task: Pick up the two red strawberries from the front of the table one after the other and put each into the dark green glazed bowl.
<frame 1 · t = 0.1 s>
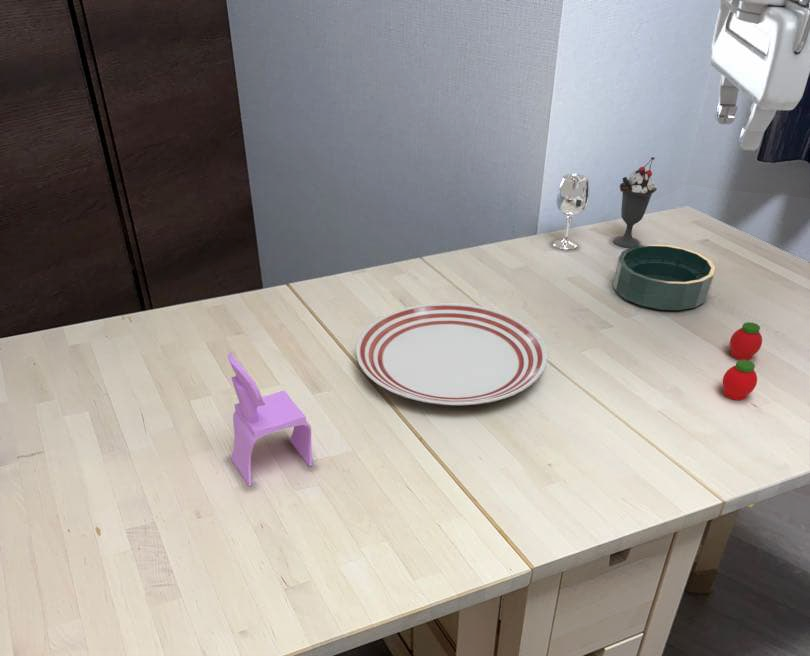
hand: (734, 134, 81), 33 cm above the table, tool pointing down, fingers open, 8 cm apart
sundae: (626, 243, 143), on the table
wineglass: (564, 245, 142), on the table
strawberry: (734, 394, 104), on the table
bowl: (659, 291, 128), on the table
toy chair: (273, 463, 92), on the table
dinner plate: (450, 367, 109), on the table
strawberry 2: (741, 355, 112), on the table
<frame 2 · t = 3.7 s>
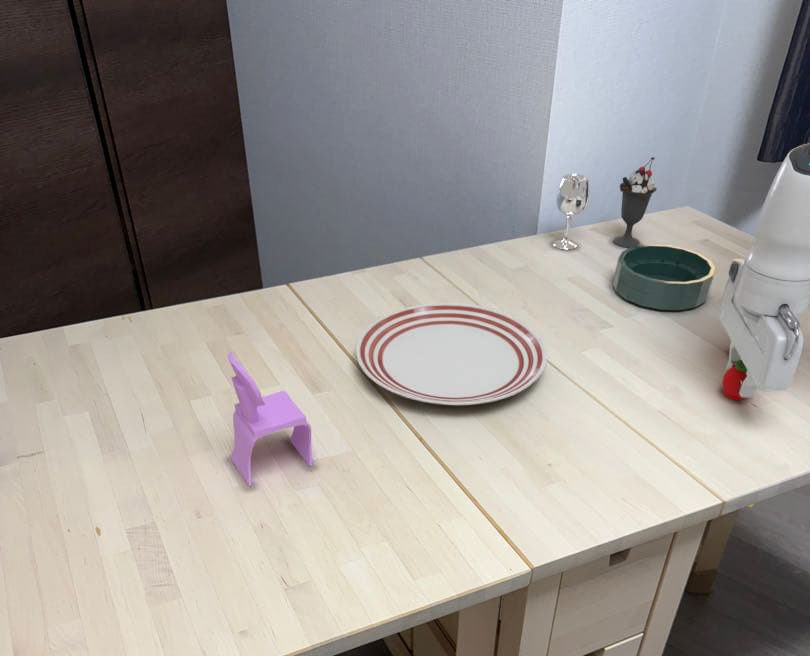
hand: (738, 383, 103), 2 cm above the table, tool pointing down, fingers closed on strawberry, 4 cm apart
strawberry: (734, 394, 104), on the table, touching gripper
everything else where it was.
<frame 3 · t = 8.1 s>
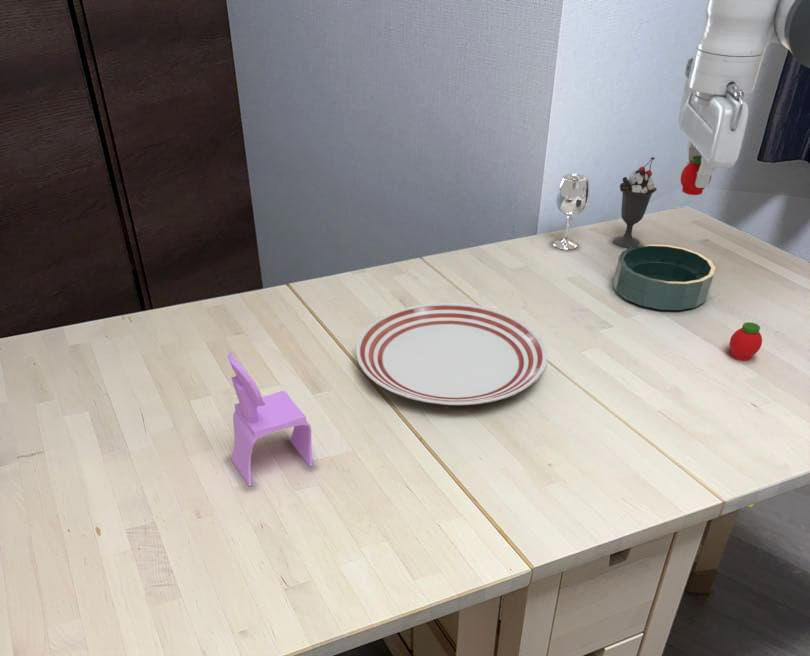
hand: (695, 179, 113), 19 cm above the table, tool pointing down, fingers closed on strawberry, 4 cm apart
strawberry: (691, 191, 114), point 17 cm above the table, touching gripper
everything else where it was.
when the fingers open (3 cm above the table, at t = 12.4 s): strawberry stays where it is, resting on bowl.
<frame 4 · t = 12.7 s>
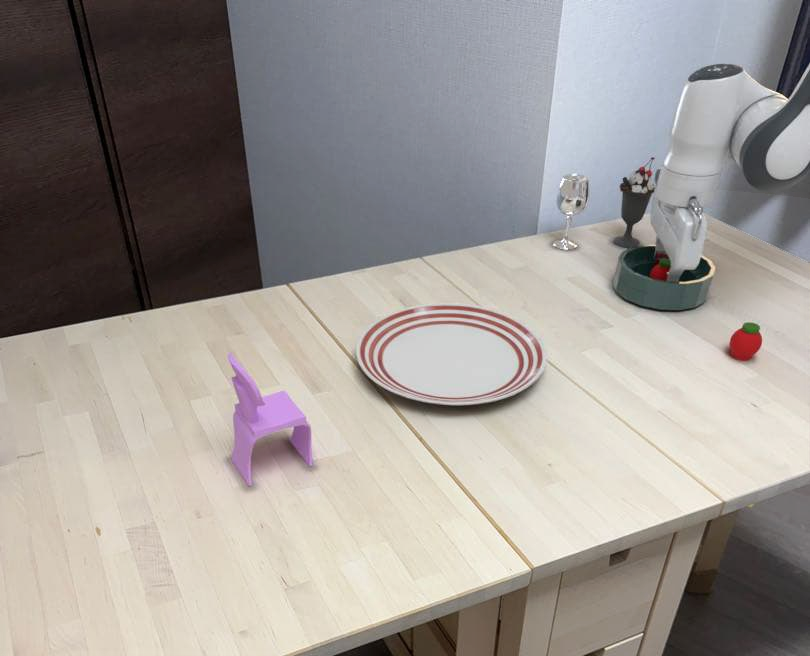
hand: (664, 273, 125), 3 cm above the table, tool pointing down, fingers open, 8 cm apart
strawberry: (659, 288, 127), point 1 cm above the table, touching bowl
everything else where it was.
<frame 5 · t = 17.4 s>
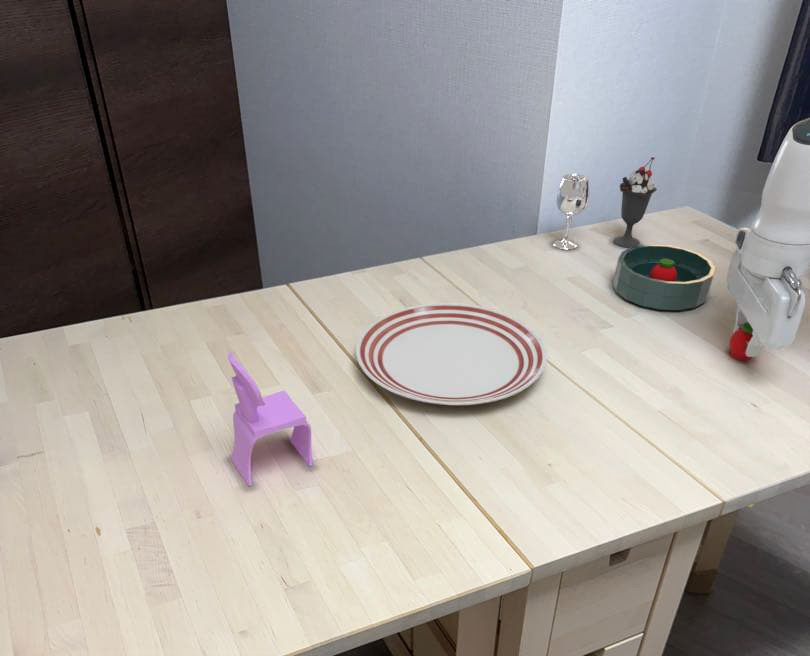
hand: (744, 345, 111), 2 cm above the table, tool pointing down, fingers closed on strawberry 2, 4 cm apart
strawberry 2: (741, 355, 112), on the table, touching gripper
everything else where it was.
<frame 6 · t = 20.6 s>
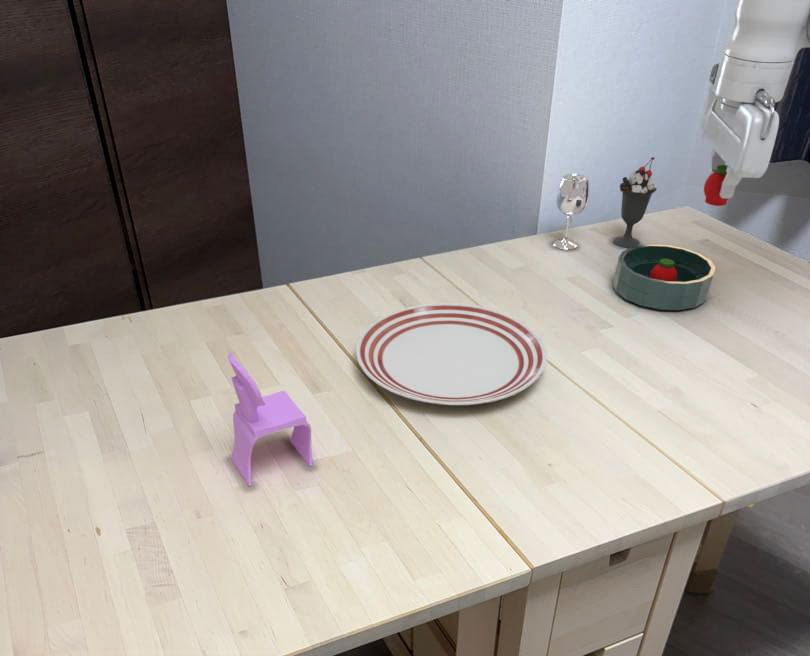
hand: (719, 190, 108), 19 cm above the table, tool pointing down, fingers closed on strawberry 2, 4 cm apart
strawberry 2: (715, 202, 110), point 18 cm above the table, touching gripper
everything else where it was.
when the fingers open (7 cm above the table, at t = 24.2 s): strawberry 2 stays where it is and tips over, resting on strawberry.
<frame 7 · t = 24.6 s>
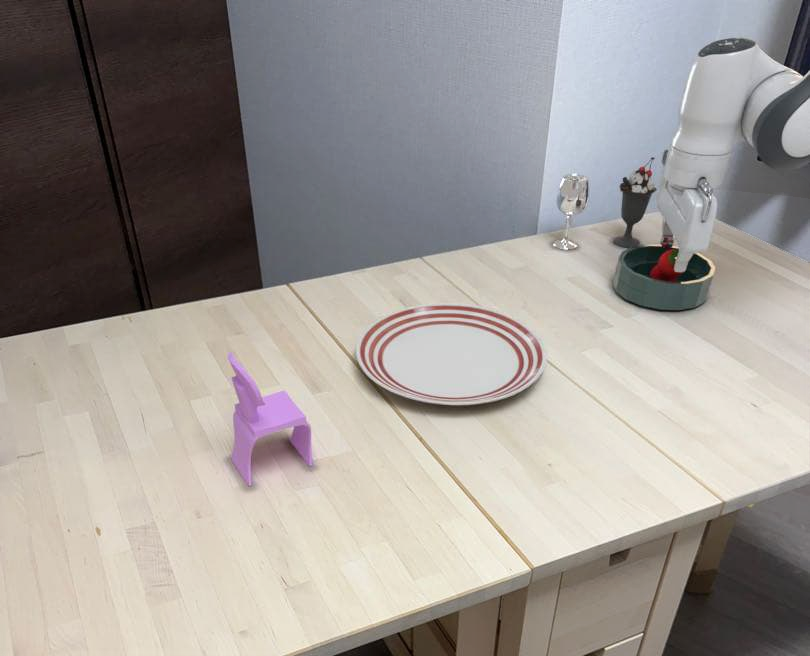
hand: (671, 257, 122), 7 cm above the table, tool pointing down, fingers open, 8 cm apart
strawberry: (659, 288, 127), point 1 cm above the table, touching bowl, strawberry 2
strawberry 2: (667, 269, 123), point 5 cm above the table, tilted 45°, touching gripper, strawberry
everything else where it was.
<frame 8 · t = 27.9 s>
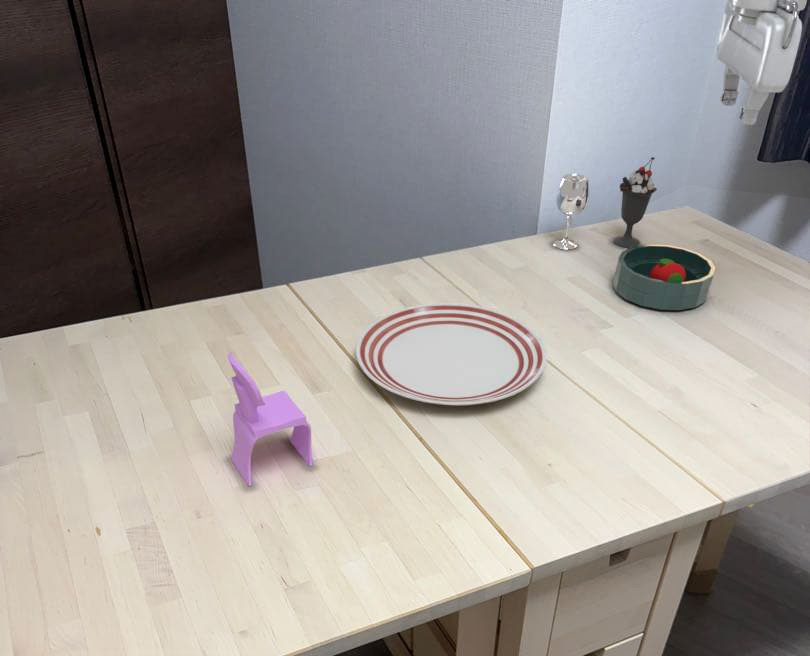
hand: (736, 113, 102), 29 cm above the table, tool pointing down, fingers open, 8 cm apart
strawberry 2: (668, 273, 123), point 4 cm above the table, tilted 81°, touching bowl, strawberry
everything else where it was.
at the end: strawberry inside the target area in the bowl (0.0 cm from its centre), point 0.5 cm above the bowl's base; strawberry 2 inside the target area in the bowl (2.0 cm from its centre), point 4.1 cm above the bowl's base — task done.
